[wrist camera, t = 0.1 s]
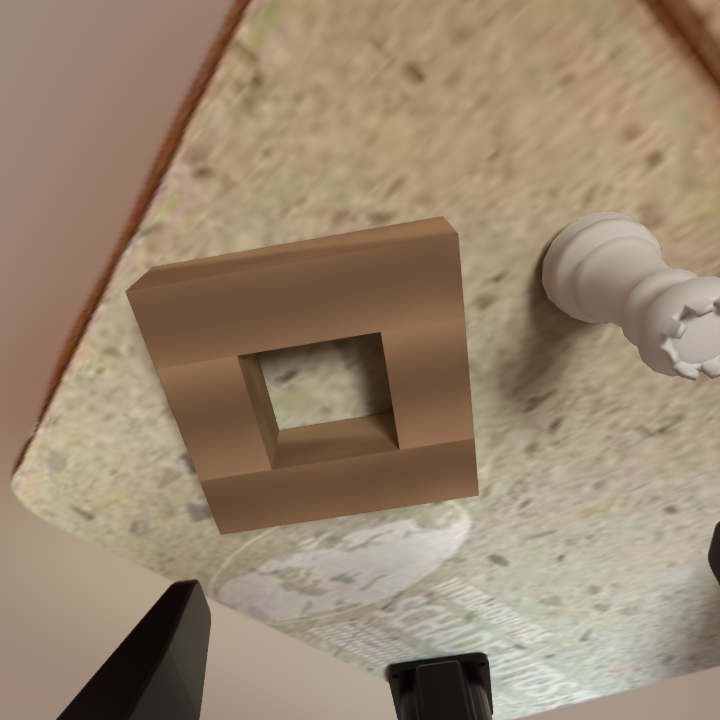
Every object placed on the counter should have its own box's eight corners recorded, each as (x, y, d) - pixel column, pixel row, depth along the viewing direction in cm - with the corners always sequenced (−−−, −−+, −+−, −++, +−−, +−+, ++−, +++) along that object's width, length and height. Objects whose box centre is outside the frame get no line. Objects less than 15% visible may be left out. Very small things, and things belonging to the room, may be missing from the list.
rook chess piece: (641, 194, 21) (801, 244, 13) (646, 295, 23) (788, 386, 15) (530, 227, 21) (629, 292, 14) (544, 324, 23) (636, 424, 16)
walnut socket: (464, 454, 26) (478, 495, 23) (232, 490, 27) (220, 534, 24) (442, 216, 21) (458, 233, 18) (152, 267, 21) (125, 291, 19)
